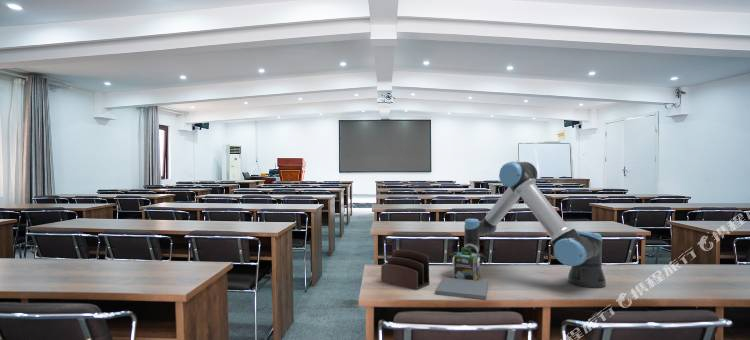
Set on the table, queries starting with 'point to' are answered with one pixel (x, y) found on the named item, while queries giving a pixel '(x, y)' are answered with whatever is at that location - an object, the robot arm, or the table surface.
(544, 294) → the table surface
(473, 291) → the mat
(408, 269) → the letter holder
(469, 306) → the table surface
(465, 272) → the chalk box
